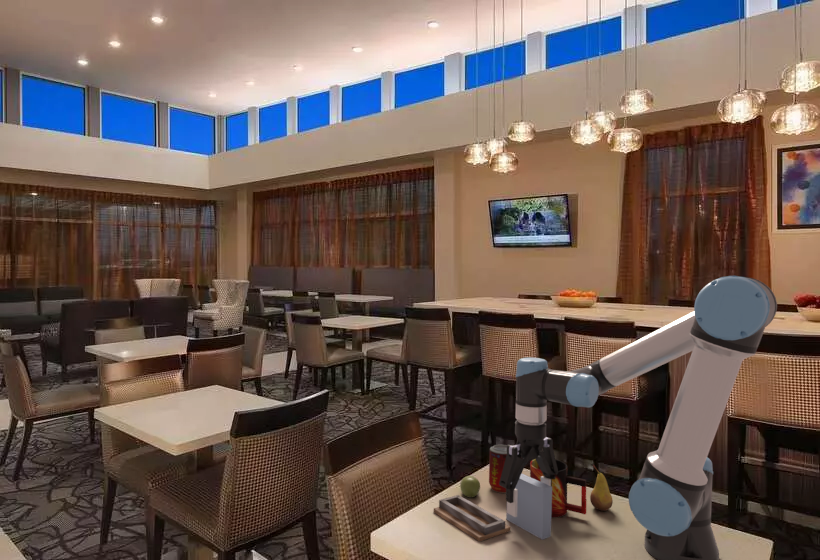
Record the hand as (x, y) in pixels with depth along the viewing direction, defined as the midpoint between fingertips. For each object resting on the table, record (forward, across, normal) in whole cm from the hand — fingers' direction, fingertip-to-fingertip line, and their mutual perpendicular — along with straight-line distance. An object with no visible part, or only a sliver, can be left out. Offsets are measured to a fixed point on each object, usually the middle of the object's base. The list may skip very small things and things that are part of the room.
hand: (529, 509), depth 132 cm
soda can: (+5, -11, -21) cm, 24 cm away
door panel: (+5, 0, 0) cm, 5 cm away
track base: (+4, +10, -10) cm, 15 cm away
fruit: (+5, -25, +3) cm, 25 cm away
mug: (+5, -14, -3) cm, 15 cm away
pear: (+5, -1, -24) cm, 24 cm away
